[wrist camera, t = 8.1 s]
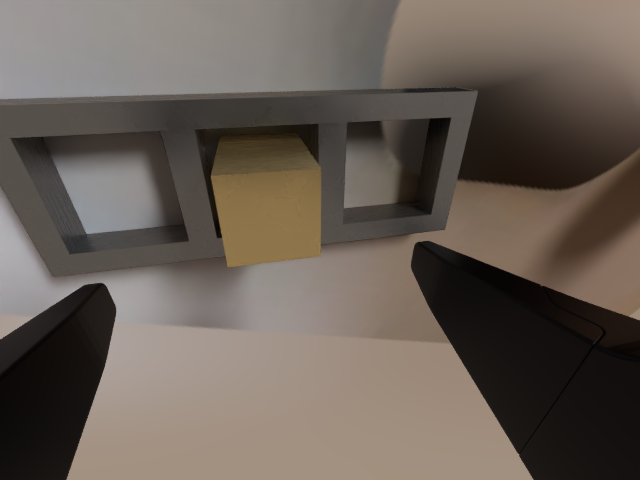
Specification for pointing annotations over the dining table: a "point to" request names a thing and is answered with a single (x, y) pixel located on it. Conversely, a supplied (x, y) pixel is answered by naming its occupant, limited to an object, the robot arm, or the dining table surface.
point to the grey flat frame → (193, 172)
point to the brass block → (267, 198)
